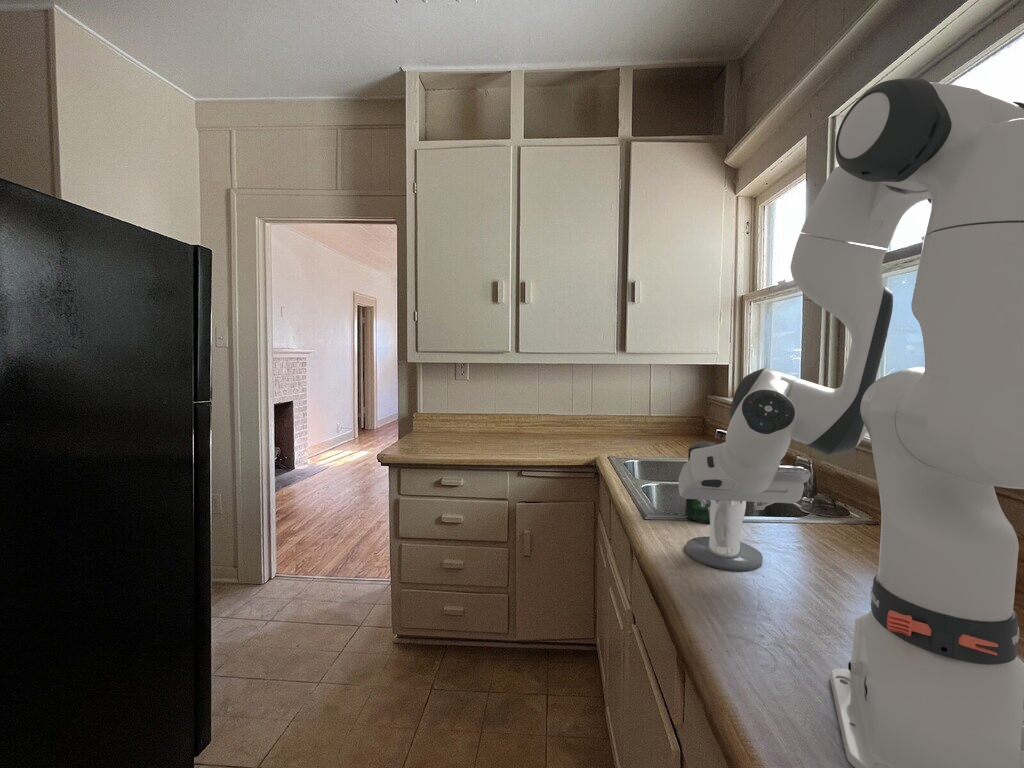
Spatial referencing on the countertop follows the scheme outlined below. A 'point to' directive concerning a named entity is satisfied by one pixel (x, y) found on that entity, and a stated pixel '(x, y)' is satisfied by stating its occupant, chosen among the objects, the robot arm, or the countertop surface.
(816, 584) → the countertop surface
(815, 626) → the countertop surface
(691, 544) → the coaster
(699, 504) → the coffee jar
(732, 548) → the beer glass
